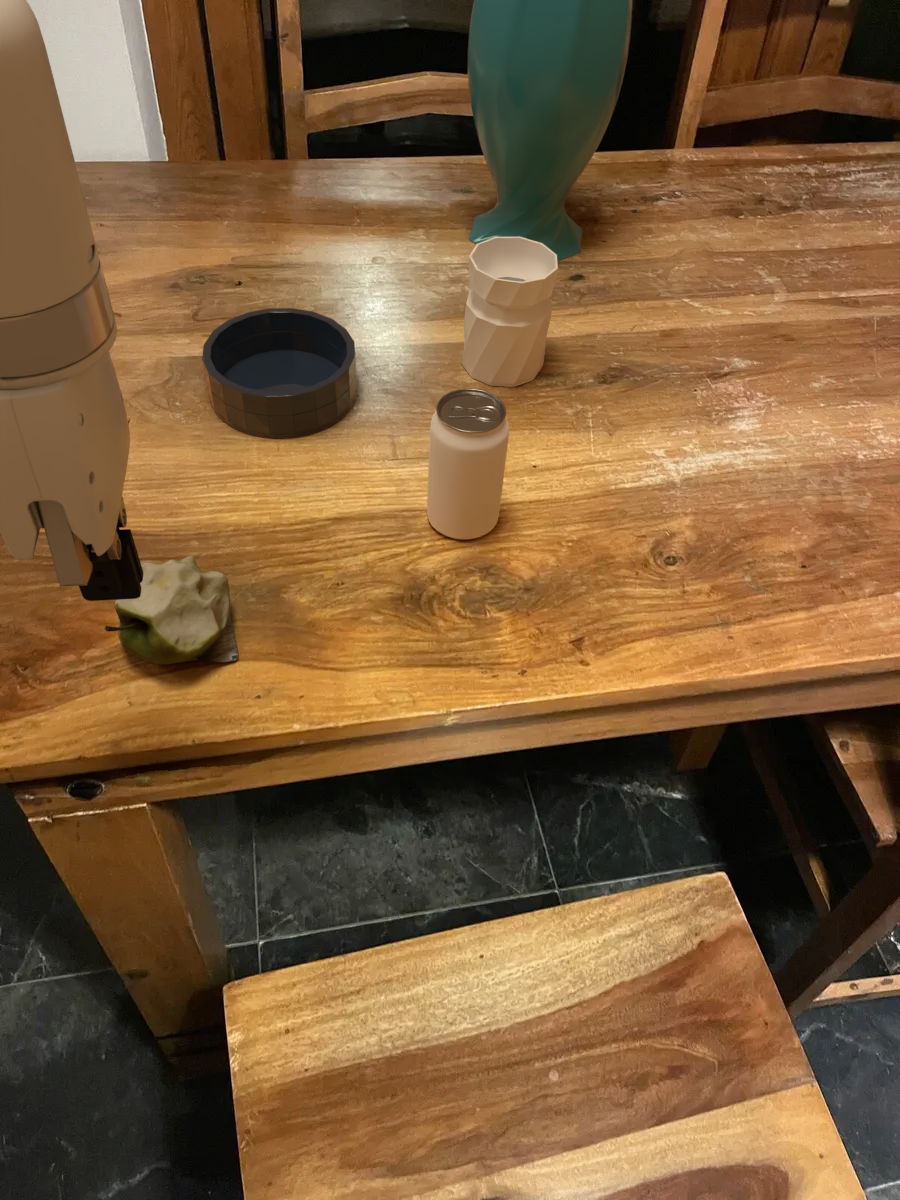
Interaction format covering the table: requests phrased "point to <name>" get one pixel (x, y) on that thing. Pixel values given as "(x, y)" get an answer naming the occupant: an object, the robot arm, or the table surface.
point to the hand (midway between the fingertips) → (114, 588)
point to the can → (466, 463)
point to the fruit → (178, 615)
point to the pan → (280, 372)
